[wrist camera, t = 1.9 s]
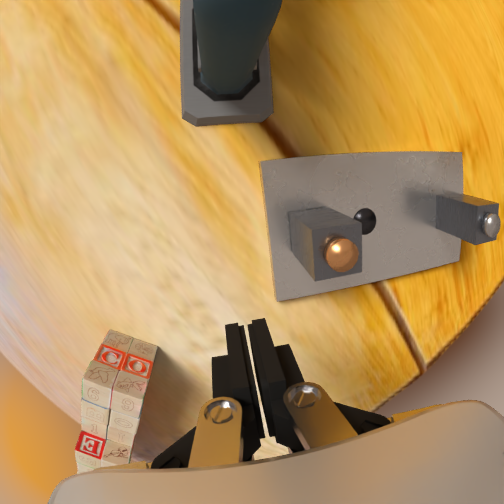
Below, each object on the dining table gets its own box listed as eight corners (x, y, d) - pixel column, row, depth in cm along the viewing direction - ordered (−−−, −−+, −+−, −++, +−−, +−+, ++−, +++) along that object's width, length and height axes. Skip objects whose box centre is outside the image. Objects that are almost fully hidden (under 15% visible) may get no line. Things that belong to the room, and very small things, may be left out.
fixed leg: (458, 192, 29) (505, 205, 22) (457, 224, 31) (502, 242, 23) (436, 194, 29) (484, 208, 22) (435, 228, 30) (481, 248, 23)
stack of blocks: (108, 326, 31) (71, 399, 19) (159, 344, 32) (140, 424, 21) (96, 429, 36) (78, 489, 24) (133, 441, 37) (122, 504, 26)
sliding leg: (328, 207, 28) (367, 225, 20) (331, 247, 29) (367, 276, 22) (288, 212, 28) (315, 233, 20) (292, 253, 29) (319, 286, 21)
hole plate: (455, 151, 29) (461, 152, 28) (453, 257, 34) (459, 260, 32) (258, 161, 27) (260, 161, 26) (274, 296, 32) (276, 301, 31)
